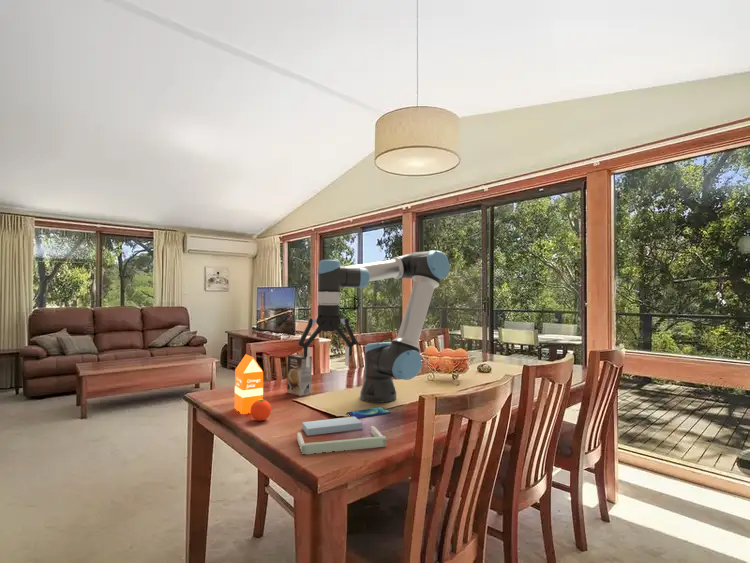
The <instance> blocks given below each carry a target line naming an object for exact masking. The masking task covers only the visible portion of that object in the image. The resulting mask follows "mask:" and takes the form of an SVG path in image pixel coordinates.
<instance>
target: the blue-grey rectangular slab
mask: <svg viewBox="0 0 750 563" xmlns="http://www.w3.org/2000/svg"><path fill="white" fill-rule="evenodd" d="M301 424H302V425H301V428H302V430H303V431H304V433H305V435H306V436H315V435H323V434H325V435H326V434H331V433H333V434H334V433H339V432H340V433H341V432H348V431H349V432H350V431H355V430H356V431H357V430H363V422H362V421H361V420H359V419H357V418H356V417H355V416H354V417H350V416H348V417H347V416H346V417H345V416H344V417H337V418H330V419H327V418H326V419H320V420H319V419H318V420H312V421H303V422H302V423H301Z"/></svg>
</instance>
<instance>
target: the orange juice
mask: <svg viewBox="0 0 750 563" xmlns="http://www.w3.org/2000/svg"><path fill="white" fill-rule="evenodd" d="M234 371H235V372H234V373H235V375H234V408H235V409H236V410H235V409H234V410H235V411H237V412H238V411H239V412H240V414H241V415H242V414H243V415H248V413H249V414H251V413H250V410H251V406H252V404H253V403H254V402H256V401H257V400H259V399H263V400H264V398H263V397H264V371H263V369H262V368H261V367H260V365H259V364H258V362H257V361H256V359H255V358H254V356H251V355H249V354H245V355H244V356H243V358H242V359H241V361H240V362H239V363H238V365H237V367H235V369H234ZM239 412H238V413H239Z"/></svg>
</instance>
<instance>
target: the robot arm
mask: <svg viewBox="0 0 750 563" xmlns="http://www.w3.org/2000/svg"><path fill="white" fill-rule="evenodd" d="M317 268H318V270H317V275H318V277H317V278H318V280H317V289H318V291H317V304H318V305H317V317H316V319H315V318H310V317H309V318H308V320H307V325H306V326H305V328H304V330H303V333H302V335H301V336H300V338H299V341H298V343H297V344H298V346H299V347H302V349H303V351H302V352H303V354H302V355H303V356H304V357H306V366H307V367H310V355H311V354H310V353H311V348H310V345H311V343H313V341H314V340H315V339H316V338H317V336H319V334H320V333H321V332H326V333H328V332H336V333H337V334H338V336H340V338H341V339H342V340H343V341H344V342H345V344H346V346H344V365H345V366H347V367H349V366H350V356H352V353H353V346H355V345H356V346H357V344H358V341H357V338H356V337H355V334H354V333H353V330H352V328H351V326H350V321H349V318H347V317H345V318H340V305H339V304H340V301H341V299H340V297H341V295H340V294H341V293H340V292H341V289H342V288H345V289H349V288H350V289H354V288H355V289H356V288H357V289H361V288H362V289H363V288H366V287H367V286H368V285H369V283H370V282H374V281H375V282H376V281H381V280H387V279H395V280H400V279H409V280H410V279H412V281H413V285H412V288H411V292H410V295H409V298H408V301H407V305H406V307H405V308H406V309H405V311H404V314H403V318H402V320H401V324H400V326H399V327H400V328H399V330H398V333H397V336H396V337H395V338H394V339H392V340H391V341H386V342H373V343H371V342H370V343H367V344H366V345H365V348H364V349H365V350H364V380H363V383H362V386H361V388H360V393H359V394H360V395H359V396H360V399H361V400H363V401H366V402H371V403H388V402H393V401H395V400H397V390H396V387H395V383H394V380H393V378H395V379H397V380H404V381H410V380H412V379H414V378H416V376H418V374H419V373H420V372H421V369H422V368H423V359H422V355H421V354H420V351H421V348H420V346H419V341H420V337H421V334H422V331H423V328H424V323H425V320H426V317H427V314H428V311H429V307H430V304H431V301H432V298H433V295H434V290H435V289H436V288H438V287H440V283H441V280H443V279H445V278H447V277H448V275H449V273H450V270H451V266H450V261H449V258H448V256H447V255H446V254H445V253H444V252H443V251H441V250H427V251H414V252H411V253H407V254H402V255H400V256H394V257H392V258H390V259H389V260H381V261H380V260H379V261H375V262H367V263H358V264H354V265H346V266H342V265H341V261H340V260H338V259H321V260H320V261H319V263H318V267H317ZM315 324H317V327H316V329H315V330H314V331H313V333H311V335H310V336H309V337H308V334H309V333H310V331H311V328H312V326H314V325H315ZM340 324H341V325H343V326H344V327H345V328H344V329H345V330H346V332H347V335H348V337H349V338H350V339H349V338H348V337H347V336H346V335H345V333H344V332H343V331H342V330H341V328H340V327H339V325H340ZM307 337H308V338H307ZM350 340H351V341H350Z"/></svg>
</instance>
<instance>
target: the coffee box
mask: <svg viewBox="0 0 750 563" xmlns="http://www.w3.org/2000/svg"><path fill="white" fill-rule="evenodd" d="M312 360H313V357H312V356H310V367H307V366H306V357H304V356H303V354H300V353H297V354H290V355H289V354H288V355H287V375H286V376H287V380H286V382H287V385H286V386H287V387H286V389H287V390H286V392H287V394H288V393H289V394H292V395H296V396H299V397H301V396H305V395H310V394H312V368H313V367H312V364H313V361H312Z"/></svg>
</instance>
